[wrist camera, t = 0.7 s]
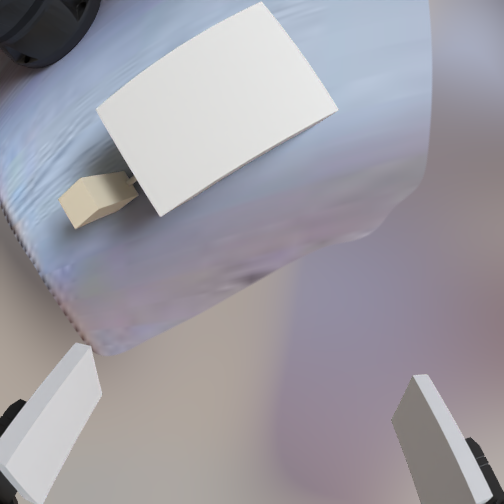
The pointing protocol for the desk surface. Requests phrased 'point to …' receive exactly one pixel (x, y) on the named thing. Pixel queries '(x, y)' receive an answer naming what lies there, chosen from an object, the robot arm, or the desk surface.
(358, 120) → the desk surface
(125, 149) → the white open box
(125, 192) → the tethered block
